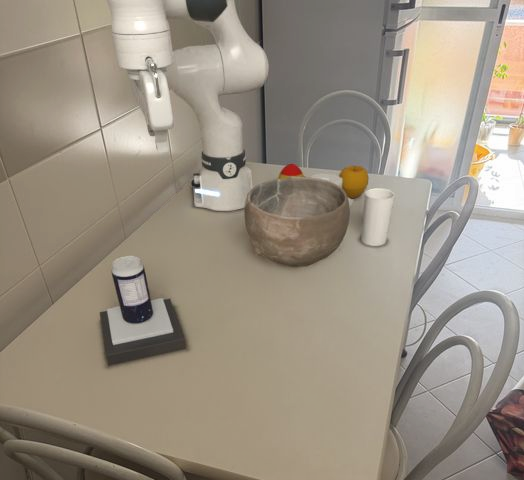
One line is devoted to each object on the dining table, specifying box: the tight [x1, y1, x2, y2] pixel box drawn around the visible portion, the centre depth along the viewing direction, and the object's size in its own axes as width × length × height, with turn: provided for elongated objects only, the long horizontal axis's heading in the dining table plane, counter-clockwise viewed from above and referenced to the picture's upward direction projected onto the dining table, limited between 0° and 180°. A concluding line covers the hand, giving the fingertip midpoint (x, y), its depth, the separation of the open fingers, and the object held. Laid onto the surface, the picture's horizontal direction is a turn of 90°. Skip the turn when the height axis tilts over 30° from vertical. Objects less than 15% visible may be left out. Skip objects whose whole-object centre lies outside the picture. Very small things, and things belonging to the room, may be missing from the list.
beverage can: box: [110, 255, 153, 325], centre depth 89 cm, size 6×6×12 cm
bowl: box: [243, 176, 351, 268], centre depth 112 cm, size 24×24×15 cm
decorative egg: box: [277, 163, 305, 179], centre depth 139 cm, size 8×8×10 cm
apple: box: [338, 165, 370, 199], centre depth 140 cm, size 9×8×9 cm
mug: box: [360, 187, 396, 247], centre depth 119 cm, size 10×7×12 cm, turn 157°
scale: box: [99, 297, 187, 367], centre depth 93 cm, size 14×14×3 cm
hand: (158, 142), depth 86 cm, fingers open, 8 cm apart
